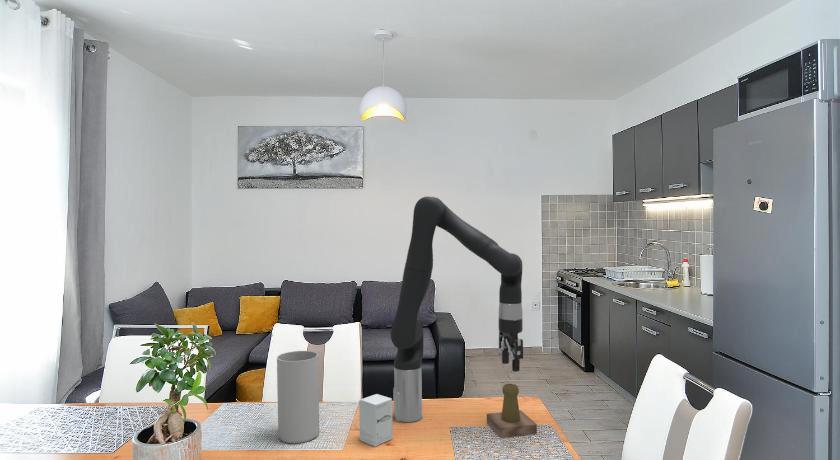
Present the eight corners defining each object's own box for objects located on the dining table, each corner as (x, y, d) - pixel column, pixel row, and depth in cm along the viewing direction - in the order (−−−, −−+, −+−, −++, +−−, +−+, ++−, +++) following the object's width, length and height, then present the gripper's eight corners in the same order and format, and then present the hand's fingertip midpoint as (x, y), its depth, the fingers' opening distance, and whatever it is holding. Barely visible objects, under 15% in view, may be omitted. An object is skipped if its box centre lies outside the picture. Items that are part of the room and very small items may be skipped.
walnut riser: (500, 437, 156) (500, 428, 155) (486, 422, 167) (486, 413, 167) (536, 433, 158) (536, 424, 158) (520, 419, 170) (520, 410, 170)
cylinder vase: (327, 431, 162) (326, 353, 162) (302, 447, 151) (301, 363, 150) (295, 425, 167) (294, 349, 167) (269, 440, 156) (268, 358, 156)
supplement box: (375, 447, 150) (374, 404, 150) (358, 440, 155) (358, 399, 155) (393, 439, 155) (392, 398, 155) (377, 432, 161) (376, 392, 160)
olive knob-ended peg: (520, 423, 159) (520, 388, 159) (500, 422, 160) (500, 387, 160) (520, 416, 165) (520, 382, 165) (501, 414, 166) (501, 381, 166)
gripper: (491, 313, 168) (491, 362, 168) (508, 321, 154) (508, 374, 155) (512, 312, 170) (512, 360, 170) (531, 320, 156) (531, 373, 156)
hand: (510, 367), depth 162 cm, fingers open, 8 cm apart
